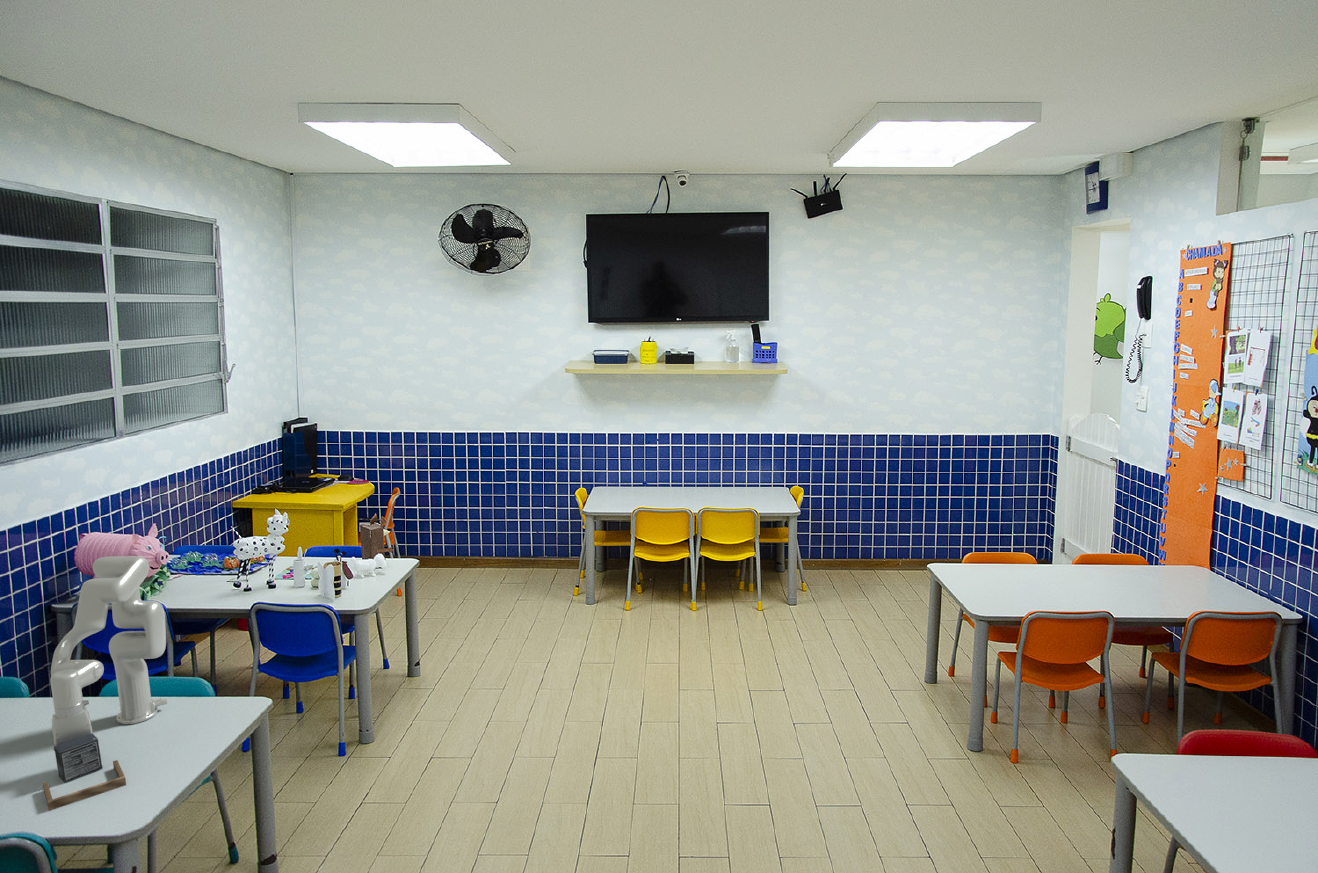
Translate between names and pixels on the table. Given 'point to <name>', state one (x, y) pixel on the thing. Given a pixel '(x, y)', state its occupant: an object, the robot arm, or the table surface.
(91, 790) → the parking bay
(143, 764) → the table surface
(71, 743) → the small box
